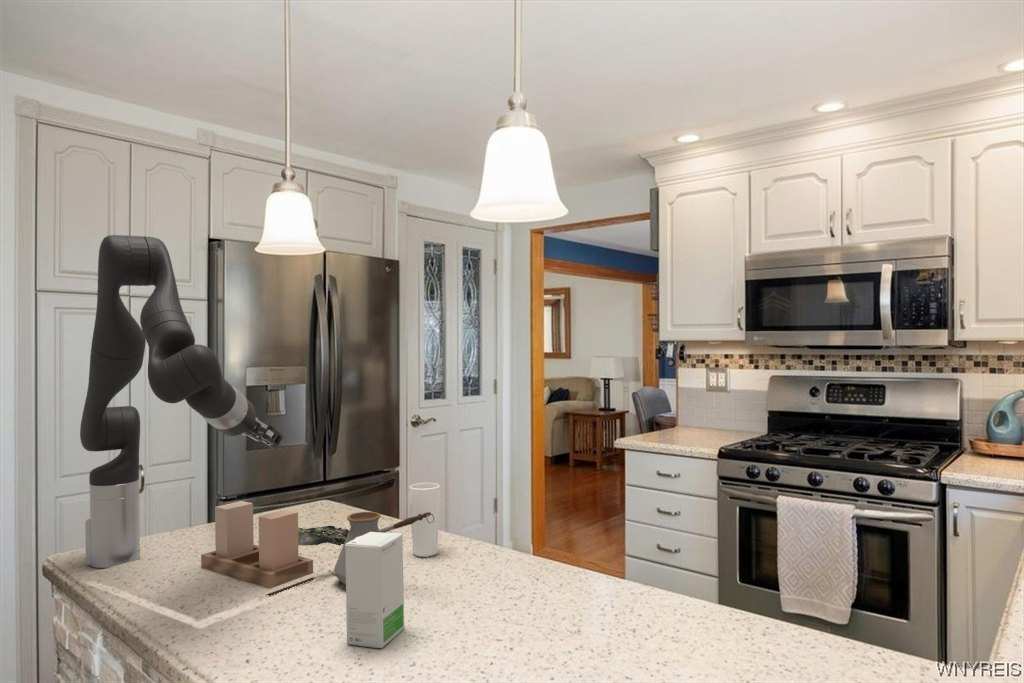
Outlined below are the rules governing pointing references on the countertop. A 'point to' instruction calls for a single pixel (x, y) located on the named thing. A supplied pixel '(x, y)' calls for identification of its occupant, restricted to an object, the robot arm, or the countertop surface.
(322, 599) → the countertop surface
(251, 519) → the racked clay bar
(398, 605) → the skincare box
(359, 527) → the coffee pot
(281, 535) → the clay bar
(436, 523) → the drinking glass
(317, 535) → the decorative rock
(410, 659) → the countertop surface
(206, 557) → the wooden divided tray
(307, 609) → the countertop surface
